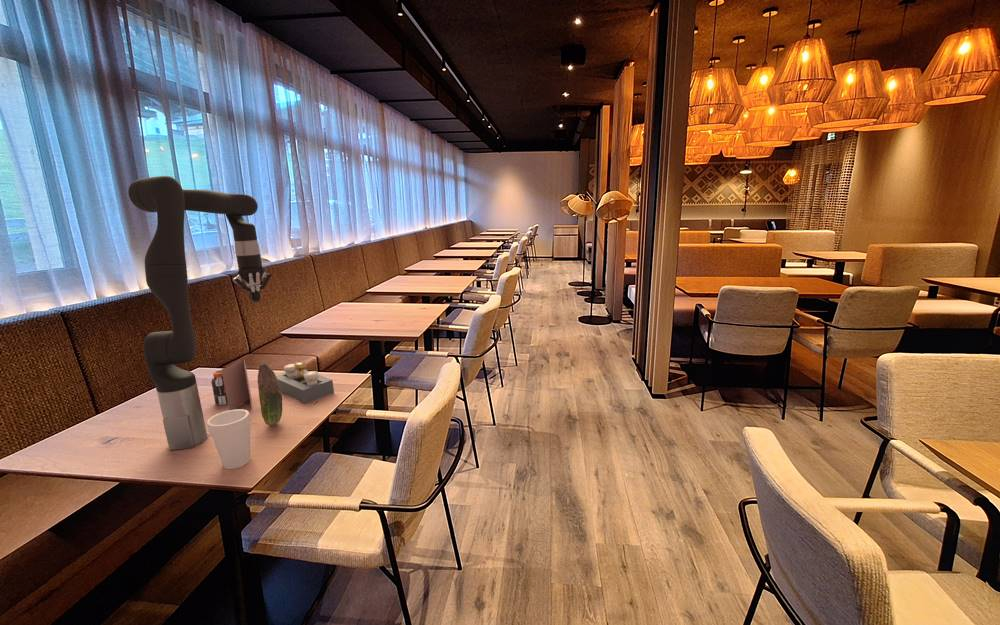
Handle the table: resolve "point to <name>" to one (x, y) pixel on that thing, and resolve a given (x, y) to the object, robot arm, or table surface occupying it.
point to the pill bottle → (219, 388)
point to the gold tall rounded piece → (300, 370)
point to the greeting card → (236, 384)
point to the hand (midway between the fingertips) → (256, 301)
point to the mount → (305, 388)
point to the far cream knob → (290, 370)
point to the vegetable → (269, 395)
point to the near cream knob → (311, 378)
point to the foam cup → (231, 437)
